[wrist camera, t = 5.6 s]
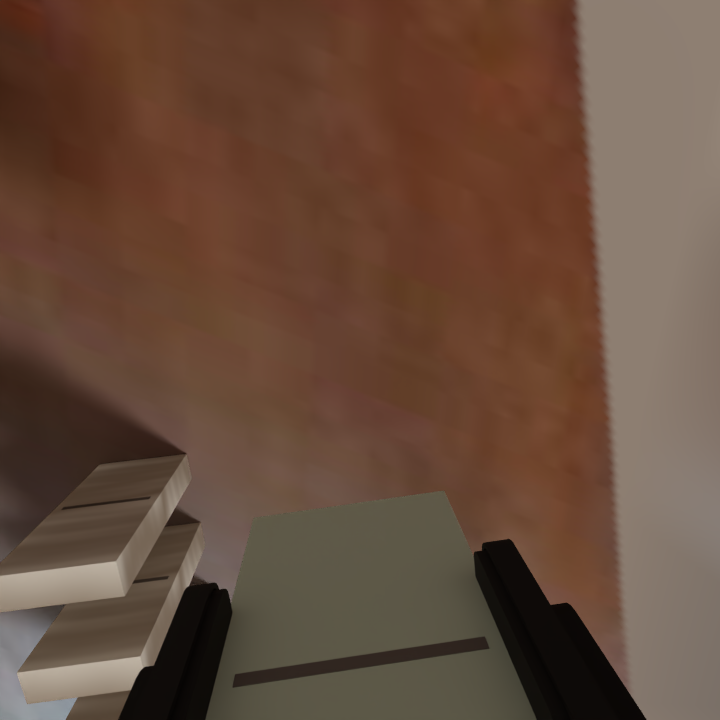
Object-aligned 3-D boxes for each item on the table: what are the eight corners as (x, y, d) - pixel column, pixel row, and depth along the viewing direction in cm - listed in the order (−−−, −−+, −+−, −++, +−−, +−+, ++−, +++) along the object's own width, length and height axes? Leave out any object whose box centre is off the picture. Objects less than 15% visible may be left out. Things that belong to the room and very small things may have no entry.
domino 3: (116, 532, 30) (16, 672, 21) (200, 521, 30) (140, 655, 21) (123, 556, 31) (27, 704, 21) (205, 545, 31) (148, 688, 21)
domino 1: (253, 517, 13) (37, 1333, 3) (443, 490, 13) (763, 1199, 3) (264, 571, 13) (97, 1438, 4) (448, 544, 14) (747, 1313, 4)
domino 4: (132, 596, 31) (44, 757, 22) (213, 585, 31) (161, 741, 22) (138, 618, 32) (54, 786, 22) (218, 607, 32) (169, 770, 22)
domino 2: (99, 463, 29) (-15, 577, 19) (186, 453, 29) (115, 560, 20) (106, 489, 30) (-3, 613, 20) (191, 479, 30) (124, 596, 20)
